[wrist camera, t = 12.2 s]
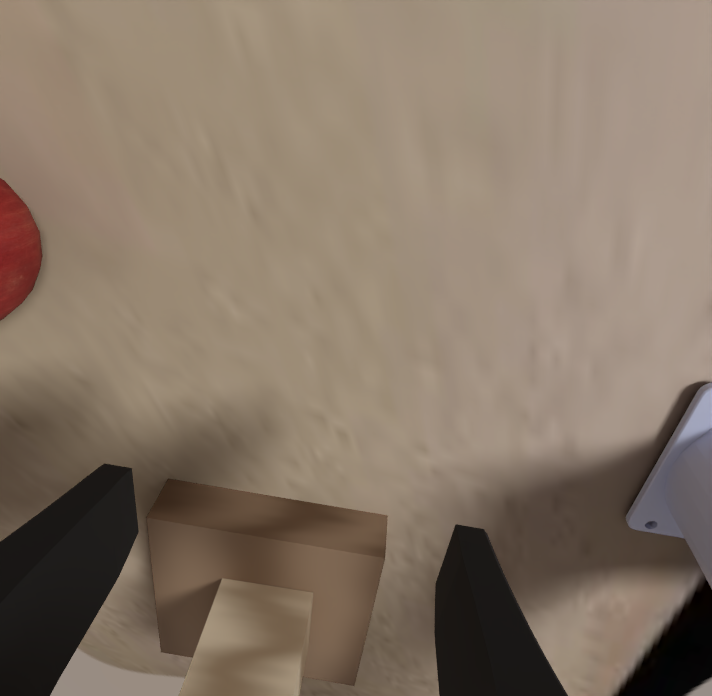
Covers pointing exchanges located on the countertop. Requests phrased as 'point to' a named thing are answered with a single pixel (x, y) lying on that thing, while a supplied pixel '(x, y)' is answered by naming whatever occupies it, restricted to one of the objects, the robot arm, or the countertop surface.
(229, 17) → the countertop surface
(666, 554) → the countertop surface
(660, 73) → the countertop surface
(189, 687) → the beech block
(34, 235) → the onion
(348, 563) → the walnut block
